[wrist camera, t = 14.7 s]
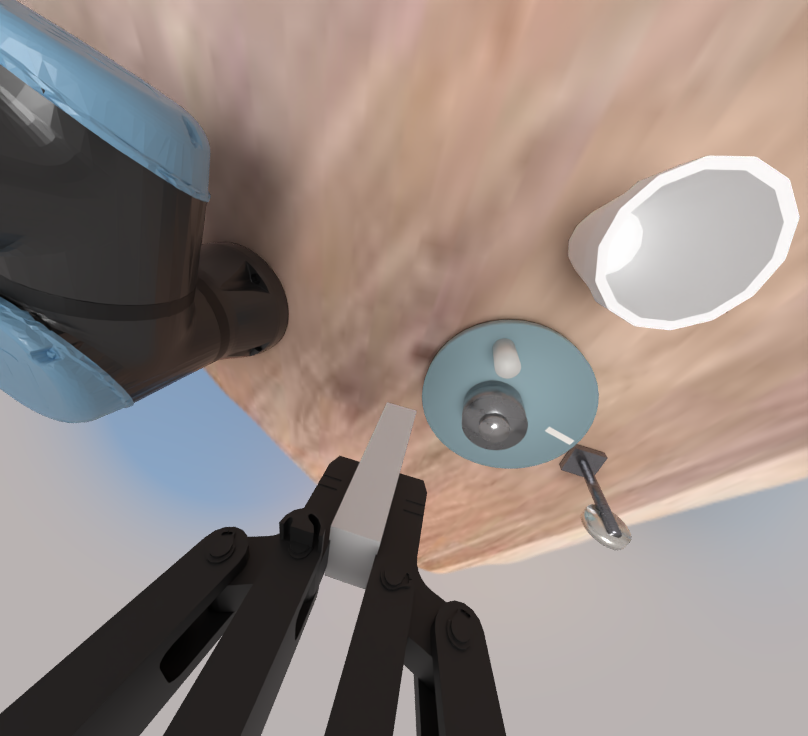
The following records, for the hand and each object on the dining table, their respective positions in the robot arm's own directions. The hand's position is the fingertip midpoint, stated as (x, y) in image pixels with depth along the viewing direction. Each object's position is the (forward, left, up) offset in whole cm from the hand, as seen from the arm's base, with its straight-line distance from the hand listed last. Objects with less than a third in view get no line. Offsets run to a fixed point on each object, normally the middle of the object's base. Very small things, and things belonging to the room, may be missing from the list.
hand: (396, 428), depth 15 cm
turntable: (+10, -8, -23) cm, 26 cm away
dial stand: (+23, -14, -23) cm, 36 cm away
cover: (+9, -9, -20) cm, 24 cm away
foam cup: (+13, +11, -23) cm, 29 cm away
